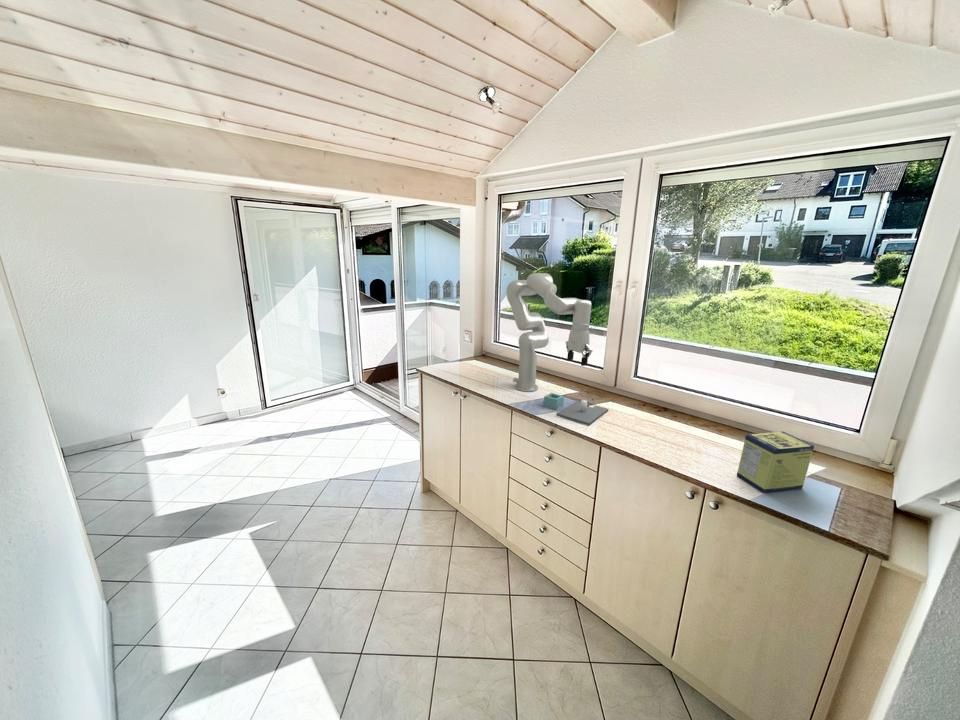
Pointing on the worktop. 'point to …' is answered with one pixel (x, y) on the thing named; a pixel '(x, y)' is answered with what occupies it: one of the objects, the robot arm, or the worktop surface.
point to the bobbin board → (582, 412)
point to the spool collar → (553, 400)
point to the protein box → (774, 461)
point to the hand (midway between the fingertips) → (576, 362)
